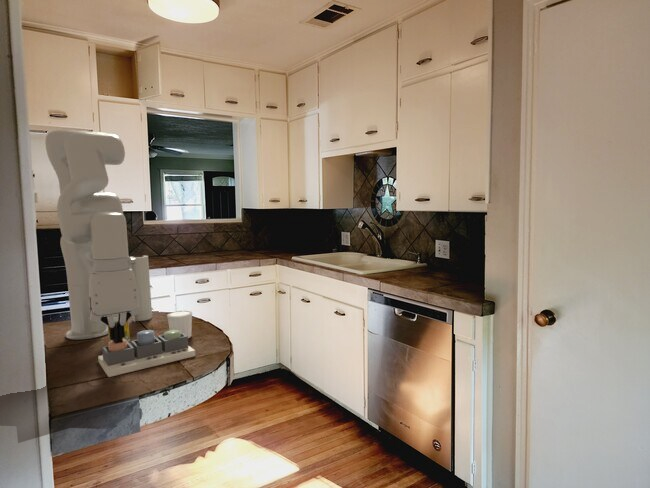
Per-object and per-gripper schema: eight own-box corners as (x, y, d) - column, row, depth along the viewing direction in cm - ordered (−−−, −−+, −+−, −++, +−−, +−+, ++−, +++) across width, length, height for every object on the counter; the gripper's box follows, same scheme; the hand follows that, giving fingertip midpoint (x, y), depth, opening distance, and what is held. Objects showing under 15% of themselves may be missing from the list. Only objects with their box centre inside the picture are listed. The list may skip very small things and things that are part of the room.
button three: (162, 345, 112) (162, 332, 111) (178, 341, 114) (177, 328, 114) (167, 349, 108) (166, 335, 108) (183, 345, 111) (182, 332, 110)
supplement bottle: (128, 338, 125) (125, 305, 124) (131, 342, 120) (129, 309, 119) (107, 341, 122) (105, 308, 121) (110, 346, 117) (107, 312, 116)
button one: (107, 355, 104) (106, 341, 103) (125, 351, 106) (124, 337, 106) (111, 359, 101) (110, 345, 100) (129, 355, 103) (128, 341, 103)
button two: (136, 345, 108) (135, 332, 107) (152, 342, 110) (151, 329, 110) (140, 350, 104) (139, 336, 104) (157, 346, 107) (156, 332, 106)
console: (98, 361, 106) (97, 344, 106) (179, 344, 118) (178, 328, 118) (108, 377, 97) (106, 357, 96) (195, 356, 109) (194, 338, 108)
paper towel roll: (146, 315, 149) (142, 254, 147) (155, 318, 145) (151, 255, 143) (126, 320, 143) (121, 257, 141) (135, 323, 140) (130, 258, 137)
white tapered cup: (197, 333, 128) (195, 310, 127) (187, 341, 121) (186, 316, 120) (175, 333, 128) (173, 310, 128) (164, 340, 121) (162, 316, 121)
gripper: (141, 260, 108) (146, 331, 110) (73, 267, 99) (79, 344, 101) (149, 263, 102) (154, 338, 104) (77, 271, 94) (84, 353, 95)
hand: (117, 341), depth 103 cm, fingers closed
